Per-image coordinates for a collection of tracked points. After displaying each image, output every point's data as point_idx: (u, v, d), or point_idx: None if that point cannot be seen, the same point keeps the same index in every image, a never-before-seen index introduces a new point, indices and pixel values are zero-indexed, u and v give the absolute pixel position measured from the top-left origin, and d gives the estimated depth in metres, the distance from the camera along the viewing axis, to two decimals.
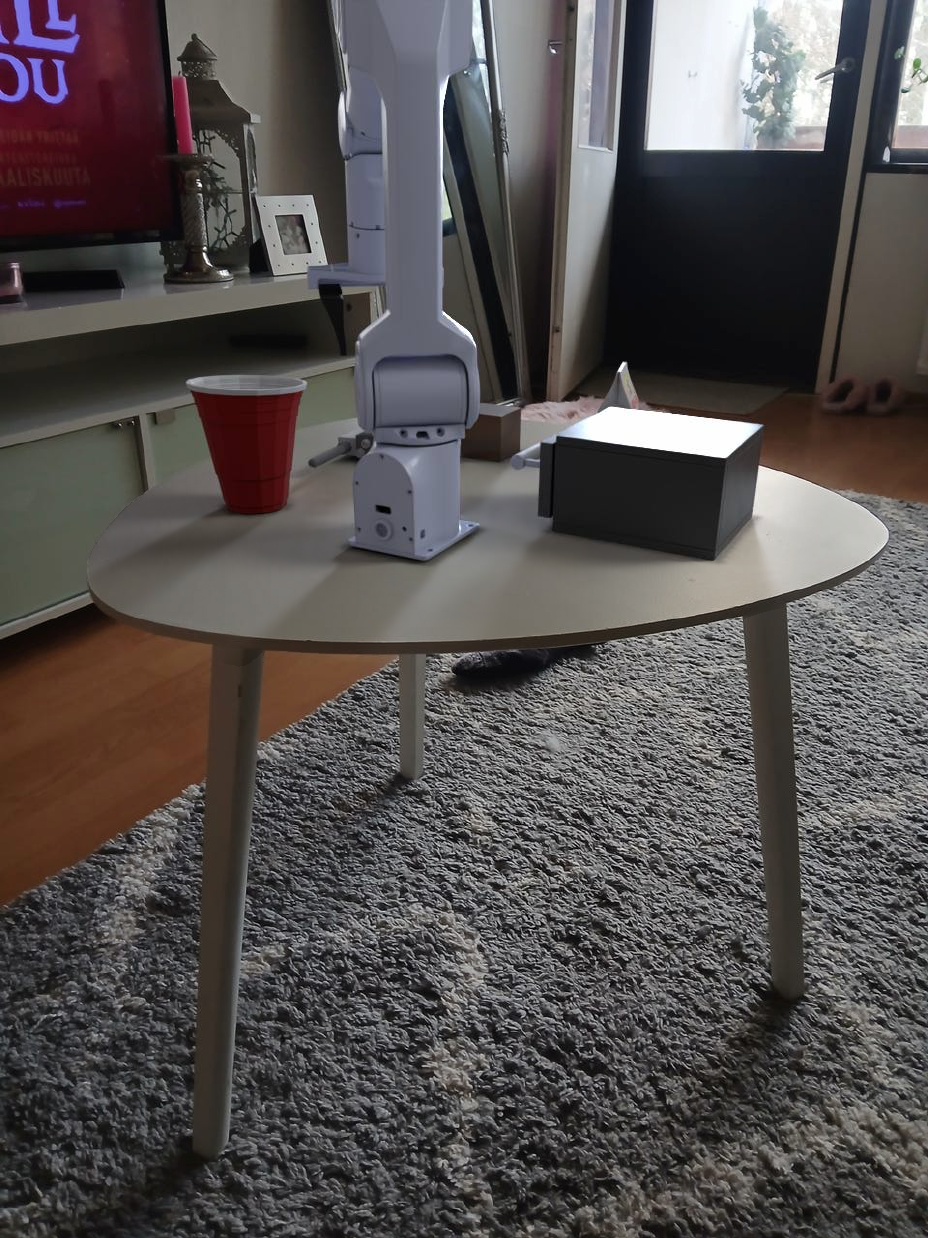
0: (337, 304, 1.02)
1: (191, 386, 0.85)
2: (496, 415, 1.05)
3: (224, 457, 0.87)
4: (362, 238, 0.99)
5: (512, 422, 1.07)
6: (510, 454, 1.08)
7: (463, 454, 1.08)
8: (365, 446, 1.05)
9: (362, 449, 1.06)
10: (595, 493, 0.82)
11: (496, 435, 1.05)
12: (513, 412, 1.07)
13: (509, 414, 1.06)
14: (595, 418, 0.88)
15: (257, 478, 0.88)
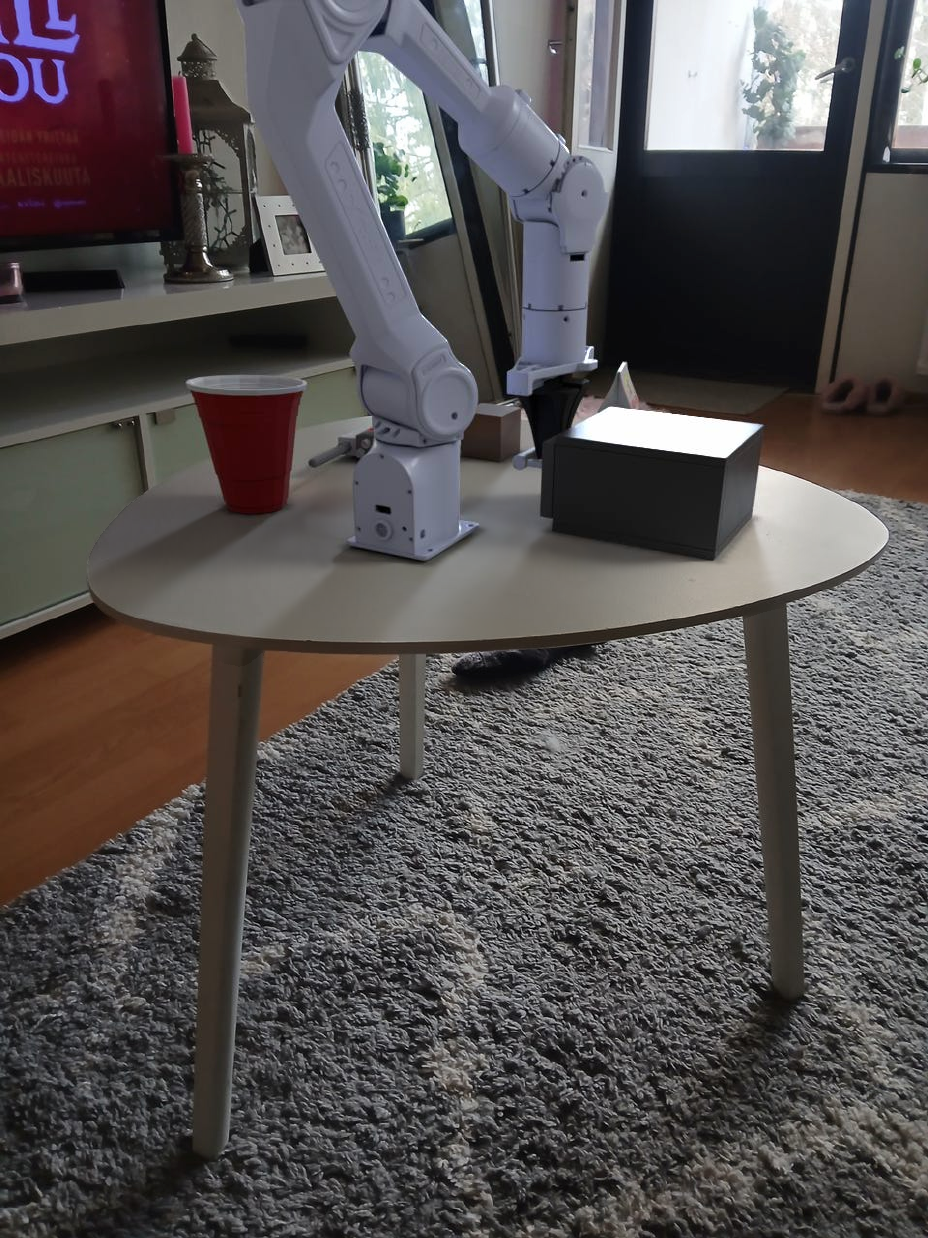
0: None
1: (191, 386, 0.85)
2: (496, 415, 1.05)
3: (224, 457, 0.87)
4: None
5: (512, 422, 1.07)
6: (510, 454, 1.08)
7: (463, 454, 1.08)
8: (365, 446, 1.05)
9: (362, 449, 1.06)
10: (595, 493, 0.82)
11: (496, 435, 1.05)
12: (513, 412, 1.07)
13: (509, 414, 1.06)
14: (595, 418, 0.88)
15: (257, 478, 0.88)
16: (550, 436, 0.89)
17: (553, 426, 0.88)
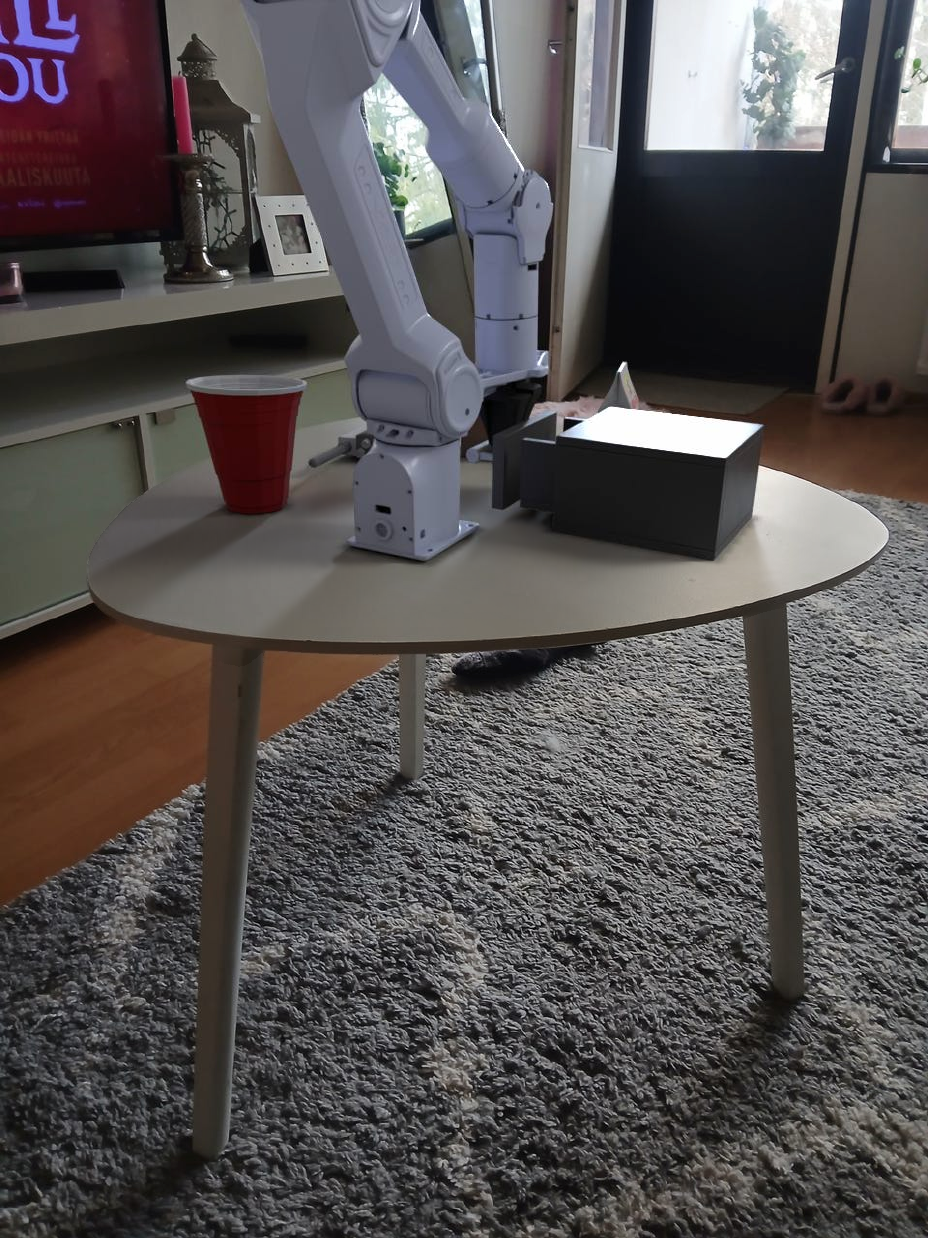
0: None
1: (191, 386, 0.85)
2: None
3: (224, 457, 0.87)
4: None
5: None
6: None
7: (463, 454, 1.08)
8: (365, 446, 1.05)
9: (362, 449, 1.06)
10: (595, 493, 0.82)
11: None
12: None
13: None
14: (595, 418, 0.88)
15: (257, 478, 0.88)
16: None
17: None
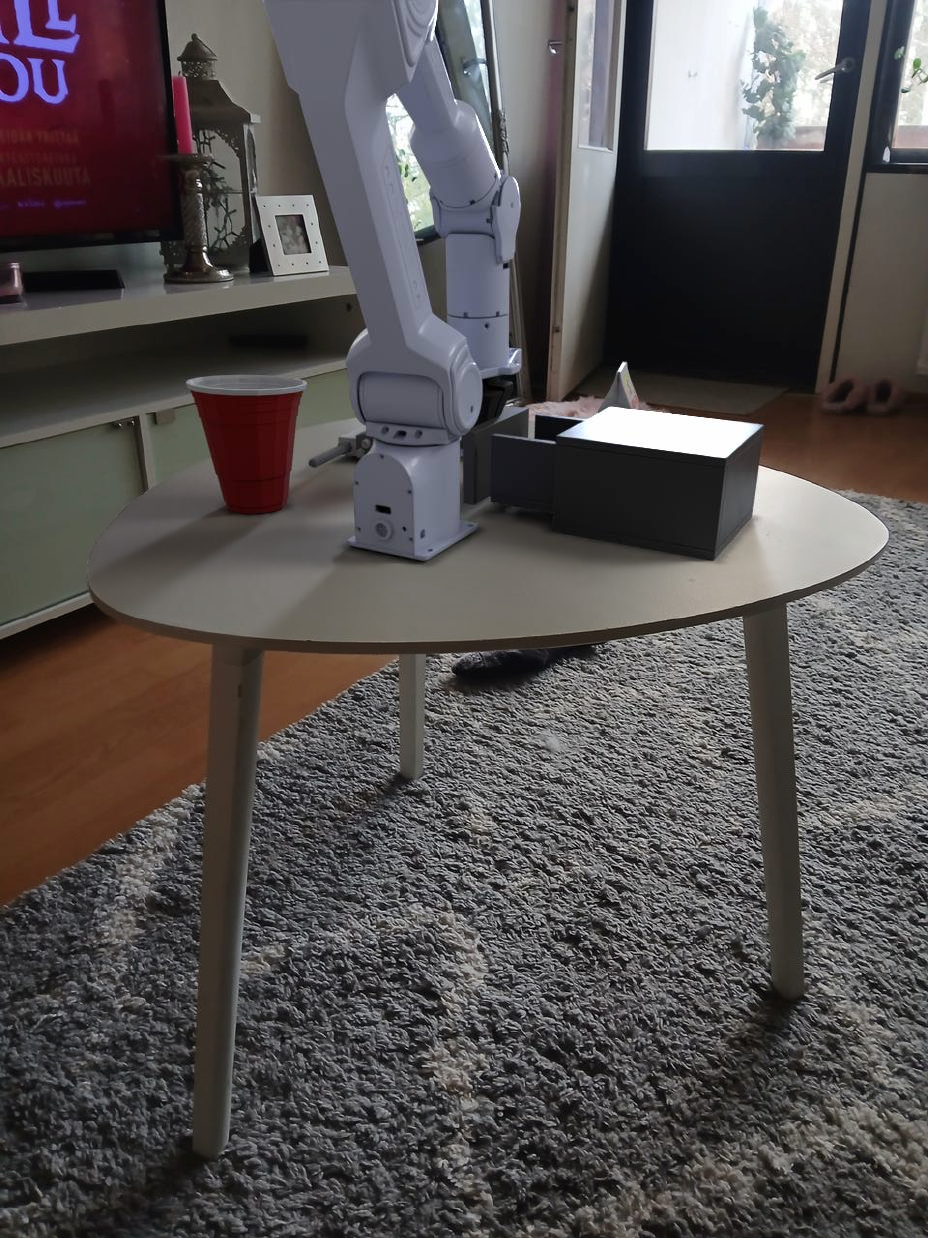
0: None
1: (191, 386, 0.85)
2: None
3: (224, 457, 0.87)
4: None
5: None
6: None
7: None
8: (365, 446, 1.05)
9: (362, 449, 1.06)
10: (595, 493, 0.82)
11: None
12: None
13: None
14: (595, 418, 0.88)
15: (257, 478, 0.88)
16: None
17: None
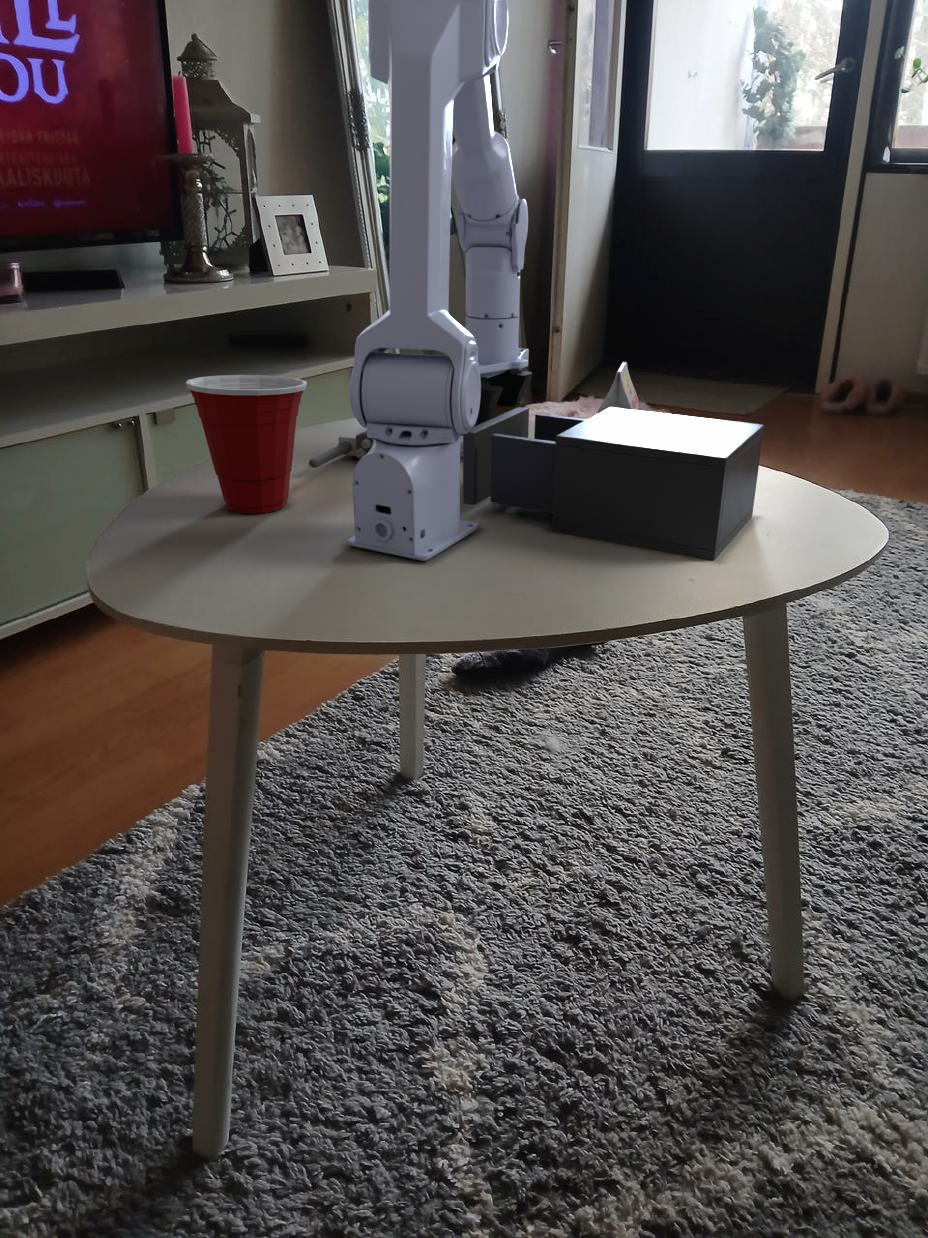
0: None
1: (191, 386, 0.85)
2: (496, 415, 1.05)
3: (224, 457, 0.87)
4: None
5: None
6: None
7: None
8: (365, 446, 1.05)
9: (362, 449, 1.06)
10: (595, 493, 0.82)
11: None
12: None
13: None
14: (595, 418, 0.88)
15: (257, 478, 0.88)
16: None
17: (482, 418, 1.04)
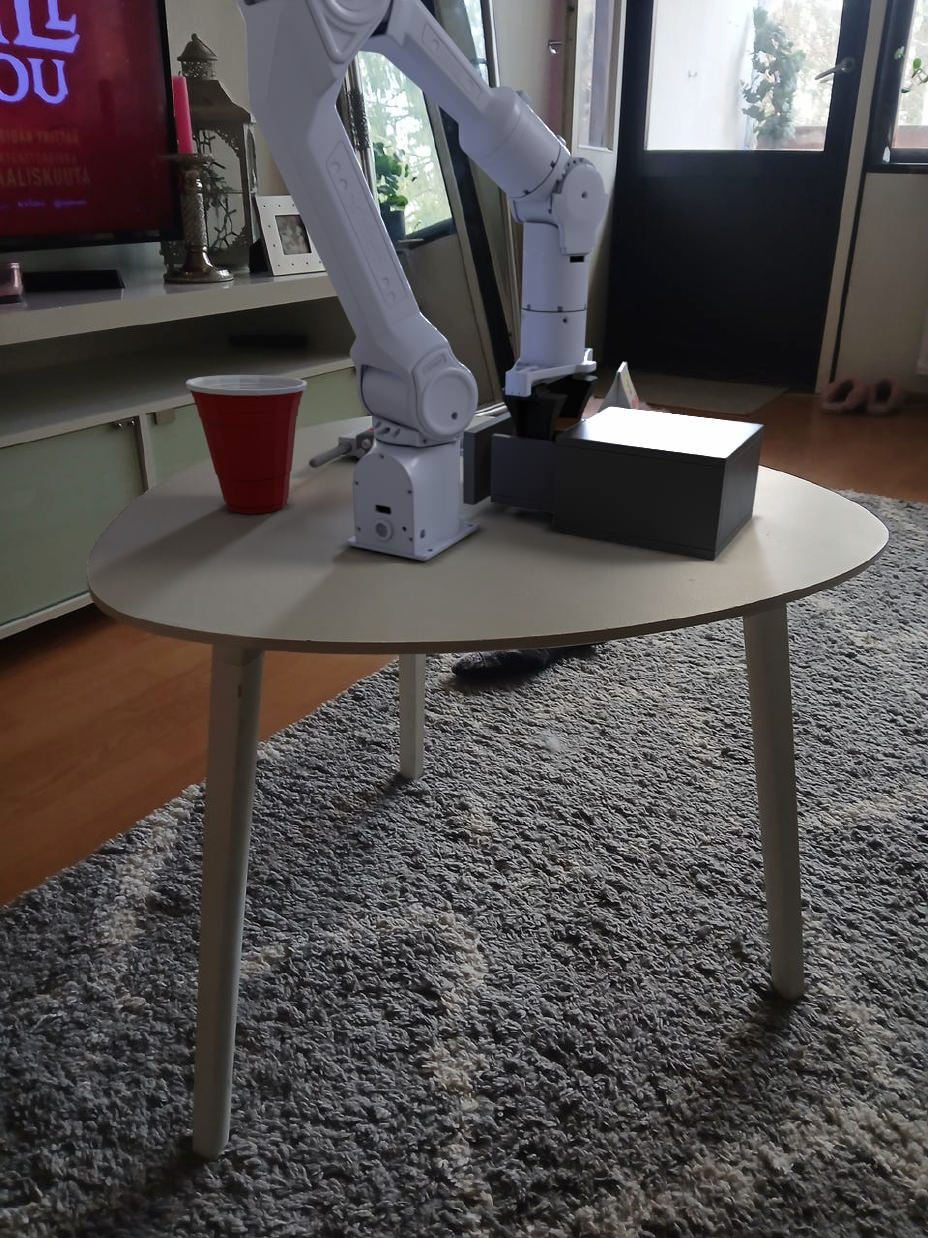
0: None
1: (191, 386, 0.85)
2: (558, 429, 0.86)
3: (224, 457, 0.87)
4: None
5: None
6: None
7: None
8: (366, 446, 1.05)
9: (363, 449, 1.06)
10: (595, 493, 0.82)
11: None
12: None
13: None
14: (595, 418, 0.88)
15: (257, 478, 0.88)
16: None
17: (540, 433, 0.86)
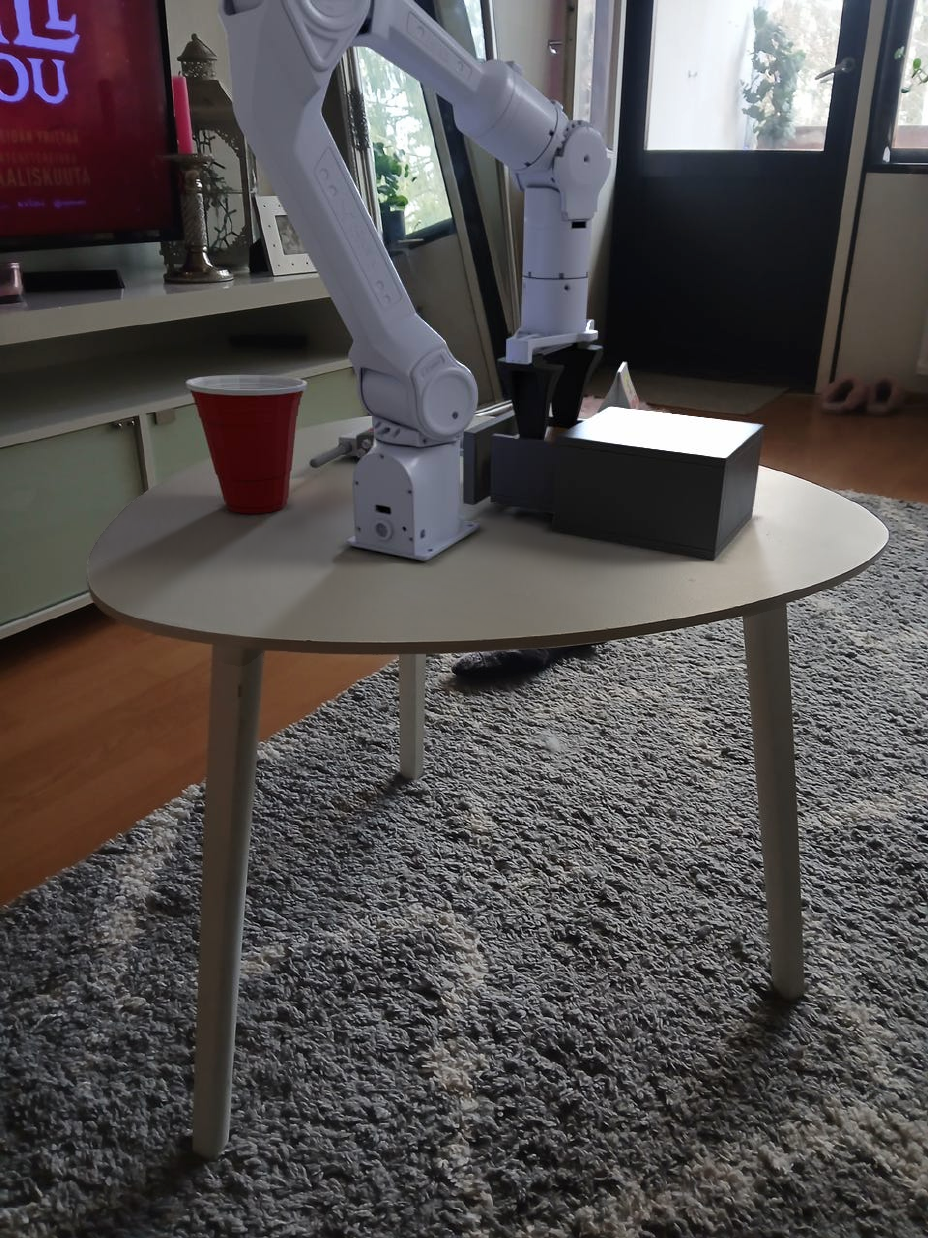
0: None
1: (191, 386, 0.85)
2: None
3: (224, 457, 0.87)
4: None
5: None
6: None
7: None
8: (366, 446, 1.05)
9: (363, 449, 1.06)
10: (595, 493, 0.82)
11: None
12: None
13: None
14: (595, 418, 0.88)
15: (257, 478, 0.88)
16: (533, 416, 0.85)
17: (537, 405, 0.84)
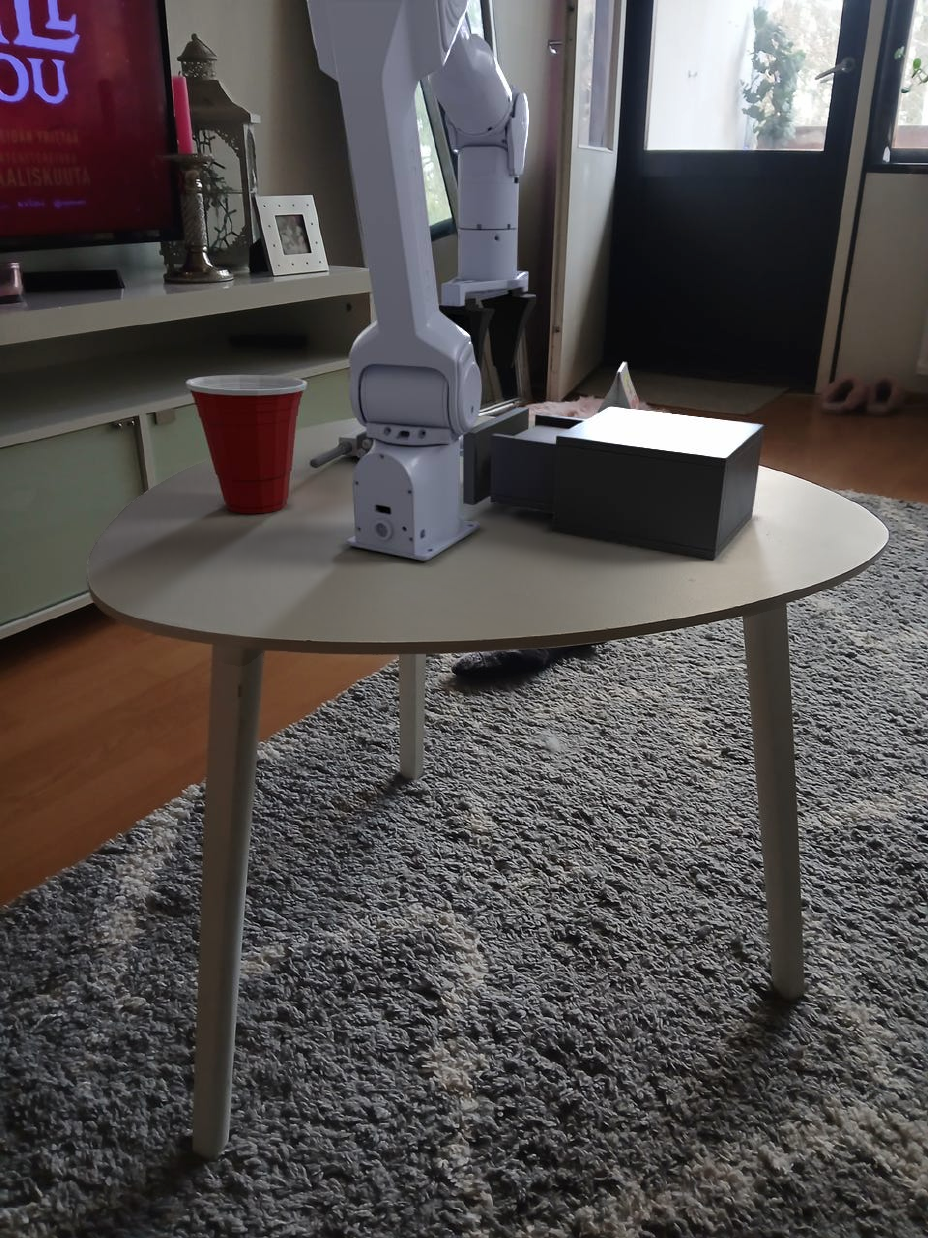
0: None
1: (191, 386, 0.85)
2: None
3: (224, 457, 0.87)
4: None
5: None
6: None
7: None
8: (366, 446, 1.05)
9: (363, 449, 1.06)
10: (595, 493, 0.82)
11: None
12: None
13: None
14: (595, 418, 0.88)
15: (257, 478, 0.88)
16: None
17: None
